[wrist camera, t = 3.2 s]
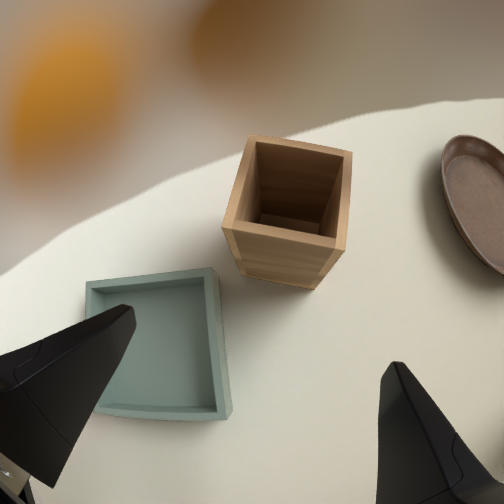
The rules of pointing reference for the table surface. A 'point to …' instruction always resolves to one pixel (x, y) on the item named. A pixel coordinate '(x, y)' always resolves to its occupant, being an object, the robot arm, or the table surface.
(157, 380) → the tray crate
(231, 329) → the table surface
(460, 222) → the plant saucer
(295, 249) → the wooden pen holder
